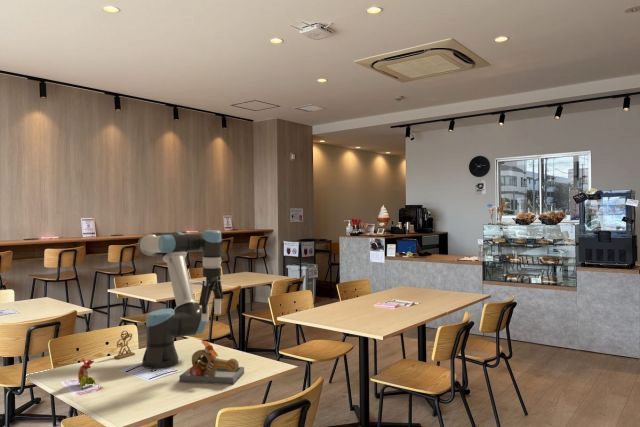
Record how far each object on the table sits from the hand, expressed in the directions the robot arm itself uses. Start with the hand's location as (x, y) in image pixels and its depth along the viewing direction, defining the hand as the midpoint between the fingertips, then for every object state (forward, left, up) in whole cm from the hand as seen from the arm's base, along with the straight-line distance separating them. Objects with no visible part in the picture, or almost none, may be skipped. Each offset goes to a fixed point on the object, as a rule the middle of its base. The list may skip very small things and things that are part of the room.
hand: (211, 317), depth 204 cm
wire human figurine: (-49, +16, -23) cm, 56 cm away
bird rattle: (-43, -23, -23) cm, 54 cm away
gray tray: (+3, -7, -23) cm, 24 cm away
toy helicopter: (+4, -10, -22) cm, 24 cm away
